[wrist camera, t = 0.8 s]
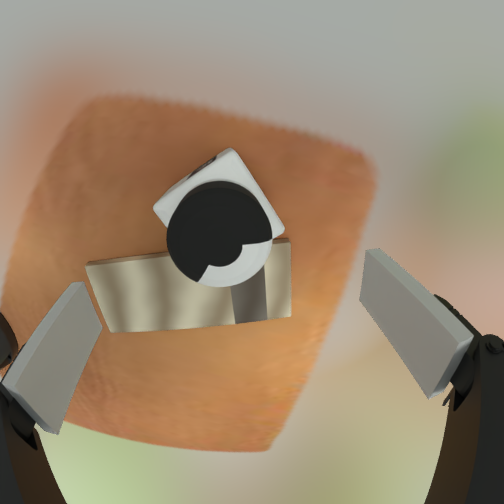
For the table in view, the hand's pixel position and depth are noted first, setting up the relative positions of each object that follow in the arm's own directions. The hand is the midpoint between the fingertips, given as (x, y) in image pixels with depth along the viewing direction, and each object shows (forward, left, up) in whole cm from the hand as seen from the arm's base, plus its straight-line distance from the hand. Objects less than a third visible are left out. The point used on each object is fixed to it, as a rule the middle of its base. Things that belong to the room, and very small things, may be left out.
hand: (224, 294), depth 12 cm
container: (0, 0, -18) cm, 18 cm away
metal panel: (-5, -10, -18) cm, 21 cm away
